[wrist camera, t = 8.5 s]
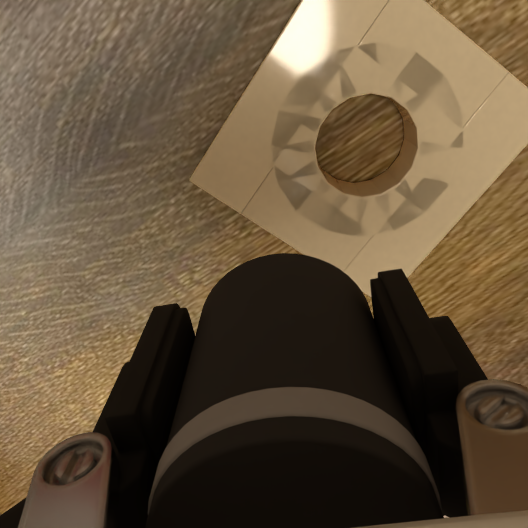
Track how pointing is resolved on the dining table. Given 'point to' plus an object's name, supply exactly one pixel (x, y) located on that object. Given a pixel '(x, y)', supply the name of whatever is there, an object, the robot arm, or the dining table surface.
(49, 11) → the dining table surface
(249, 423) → the stopper
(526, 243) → the dining table surface
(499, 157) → the sink floor
